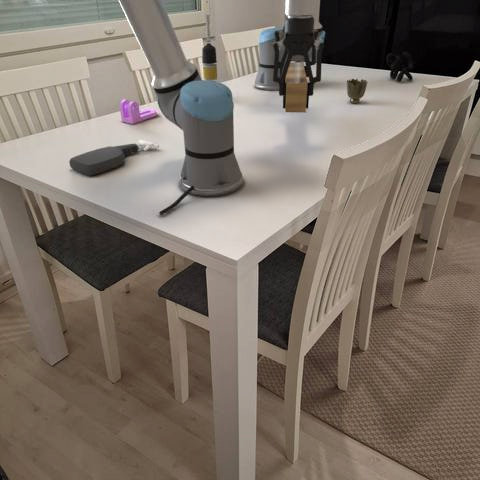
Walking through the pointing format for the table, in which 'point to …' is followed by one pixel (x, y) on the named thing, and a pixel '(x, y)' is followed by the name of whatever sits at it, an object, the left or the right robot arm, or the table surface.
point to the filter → (209, 57)
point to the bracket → (134, 112)
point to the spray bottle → (106, 157)
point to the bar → (296, 88)
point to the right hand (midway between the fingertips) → (293, 87)
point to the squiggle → (399, 66)
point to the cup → (356, 89)
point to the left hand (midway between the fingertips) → (295, 107)
